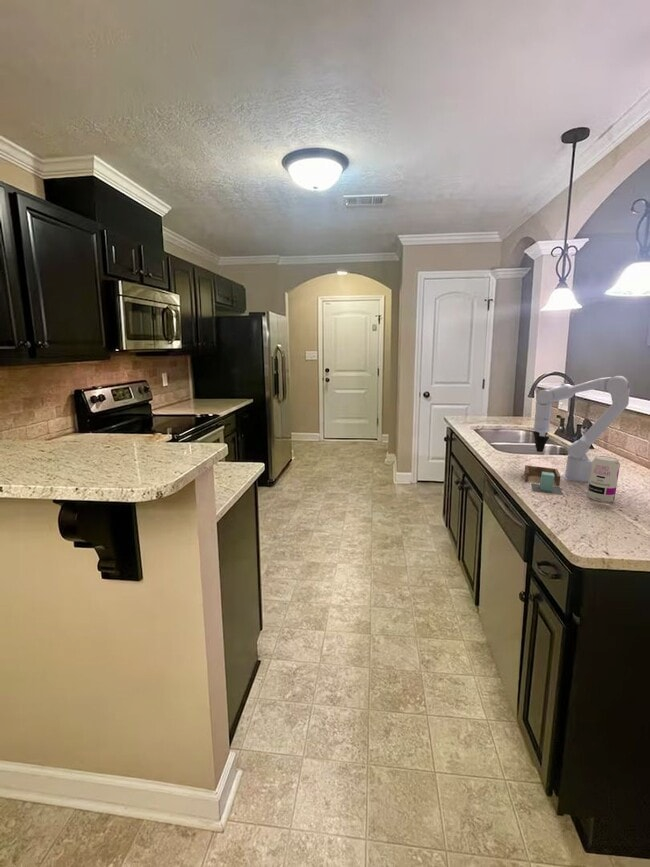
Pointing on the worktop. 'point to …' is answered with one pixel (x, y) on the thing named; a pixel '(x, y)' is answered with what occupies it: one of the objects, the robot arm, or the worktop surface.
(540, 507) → the worktop surface
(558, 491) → the slate mat
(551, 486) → the block
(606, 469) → the supplement can
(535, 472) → the walnut box
